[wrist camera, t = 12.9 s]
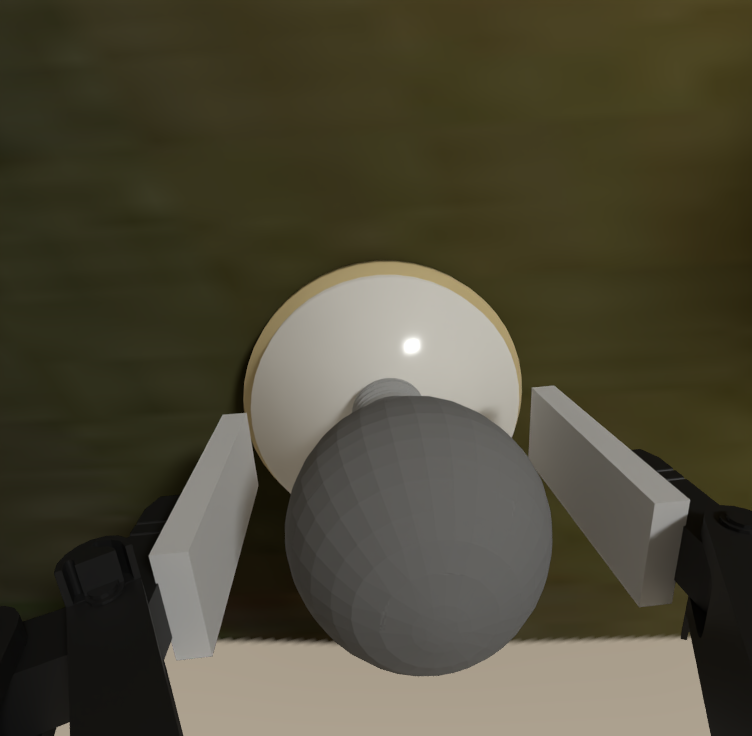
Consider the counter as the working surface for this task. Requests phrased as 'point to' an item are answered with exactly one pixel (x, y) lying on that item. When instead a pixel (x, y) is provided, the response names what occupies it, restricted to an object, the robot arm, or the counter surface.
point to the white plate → (373, 355)
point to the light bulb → (418, 533)
